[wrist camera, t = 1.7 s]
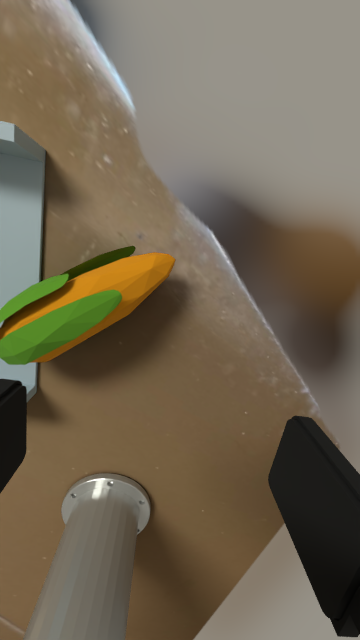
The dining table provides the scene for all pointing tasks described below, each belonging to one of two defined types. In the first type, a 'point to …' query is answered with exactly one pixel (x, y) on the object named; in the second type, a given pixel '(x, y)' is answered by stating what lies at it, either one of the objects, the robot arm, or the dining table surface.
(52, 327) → the corn
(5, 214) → the tray
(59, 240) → the dining table surface
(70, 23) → the dining table surface
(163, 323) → the dining table surface
